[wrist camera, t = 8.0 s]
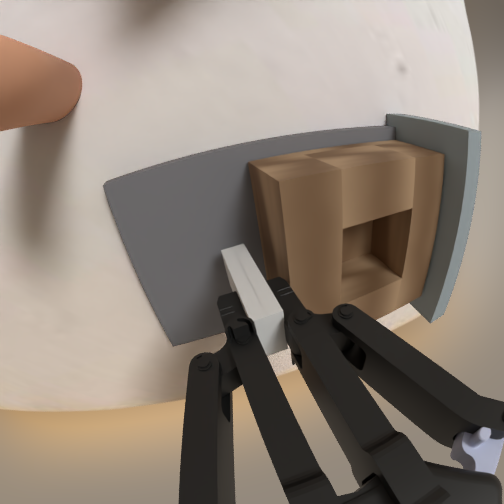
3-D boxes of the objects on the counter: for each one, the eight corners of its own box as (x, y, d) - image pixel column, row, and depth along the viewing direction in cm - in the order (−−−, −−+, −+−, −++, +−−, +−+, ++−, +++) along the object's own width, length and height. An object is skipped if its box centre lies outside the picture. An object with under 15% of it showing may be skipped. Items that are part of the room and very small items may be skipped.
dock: (176, 345, 23) (188, 424, 16) (102, 166, 14) (54, 209, 8) (393, 269, 26) (443, 314, 20) (402, 114, 18) (481, 131, 11)
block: (271, 310, 22) (295, 354, 18) (247, 161, 16) (278, 181, 12) (387, 266, 24) (421, 296, 20) (395, 140, 18) (444, 154, 14)
